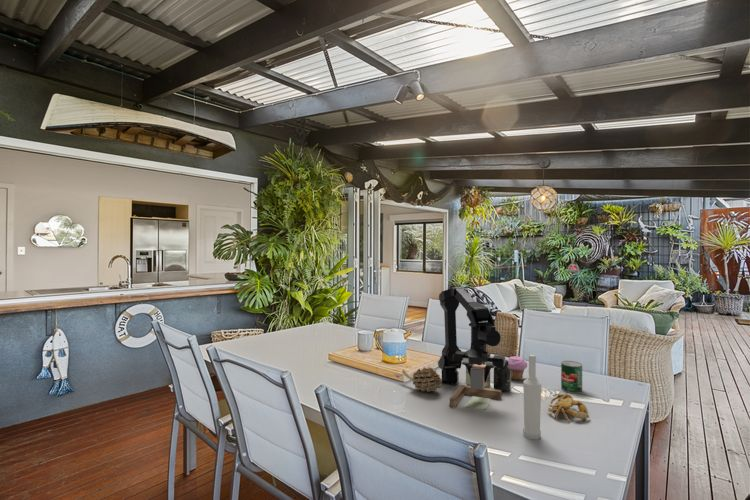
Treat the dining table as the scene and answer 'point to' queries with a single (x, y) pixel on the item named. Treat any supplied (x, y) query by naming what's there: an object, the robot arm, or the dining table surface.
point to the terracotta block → (477, 377)
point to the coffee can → (469, 375)
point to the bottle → (532, 402)
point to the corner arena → (474, 401)
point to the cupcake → (517, 367)
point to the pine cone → (425, 379)
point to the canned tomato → (571, 377)
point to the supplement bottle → (502, 378)
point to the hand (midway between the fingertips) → (478, 381)
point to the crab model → (566, 404)
